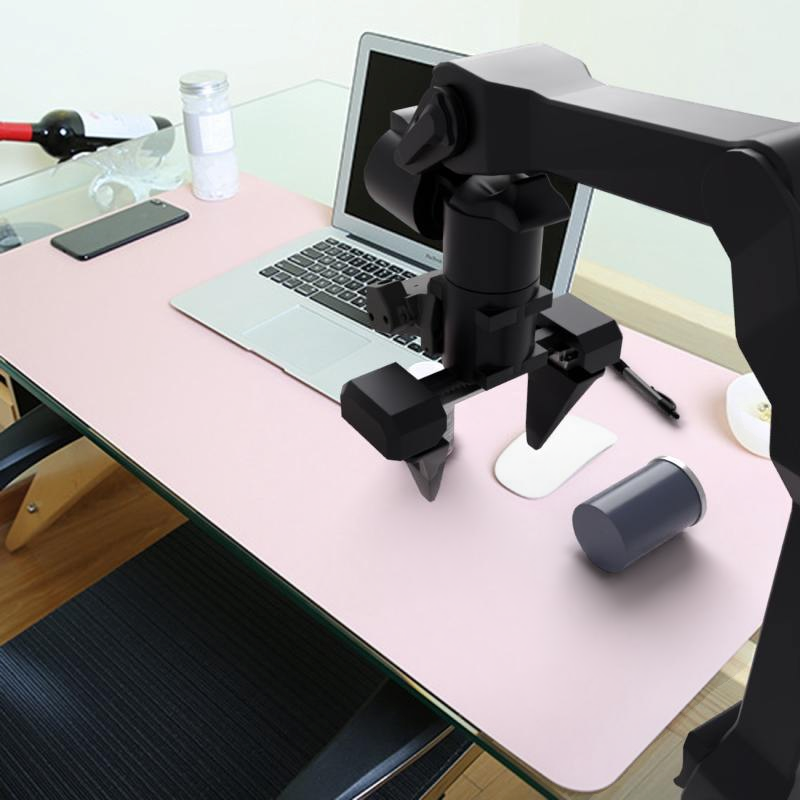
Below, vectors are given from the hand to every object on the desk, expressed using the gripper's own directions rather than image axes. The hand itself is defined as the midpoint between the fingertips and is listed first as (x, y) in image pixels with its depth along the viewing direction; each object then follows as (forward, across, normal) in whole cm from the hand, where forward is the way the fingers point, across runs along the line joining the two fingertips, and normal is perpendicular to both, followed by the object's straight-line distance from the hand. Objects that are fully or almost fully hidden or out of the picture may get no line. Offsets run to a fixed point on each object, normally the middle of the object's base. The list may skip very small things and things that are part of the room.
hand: (482, 471), depth 65 cm
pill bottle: (+14, -8, -18) cm, 24 cm away
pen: (+14, -32, -14) cm, 37 cm away
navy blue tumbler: (+11, -11, +2) cm, 15 cm away
